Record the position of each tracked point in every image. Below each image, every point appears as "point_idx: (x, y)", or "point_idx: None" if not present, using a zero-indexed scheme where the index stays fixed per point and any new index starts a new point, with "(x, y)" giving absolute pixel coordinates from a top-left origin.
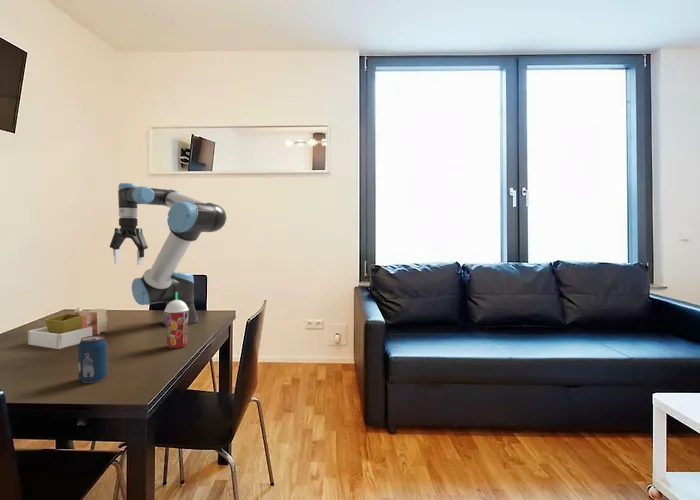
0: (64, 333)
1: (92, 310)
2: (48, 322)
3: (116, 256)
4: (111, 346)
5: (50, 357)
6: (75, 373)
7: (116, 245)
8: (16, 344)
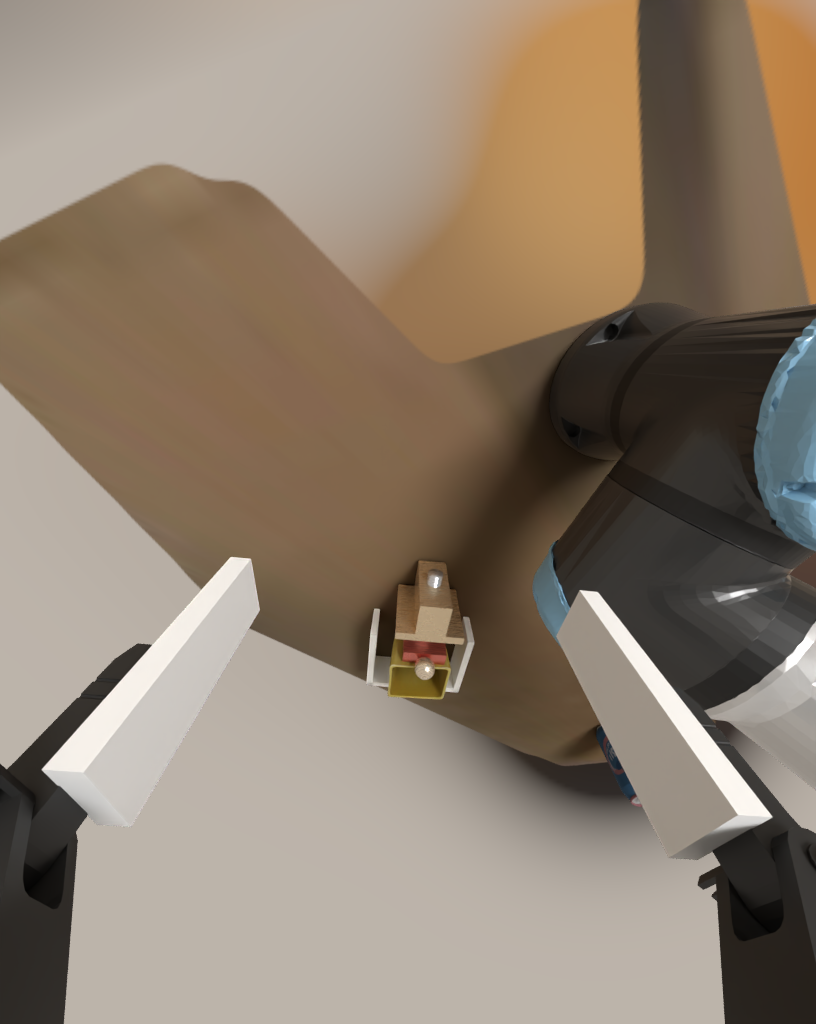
0: (459, 683)
1: (425, 629)
2: (399, 690)
3: (212, 678)
4: (543, 638)
5: (480, 691)
6: (571, 721)
7: (66, 980)
8: (349, 661)
